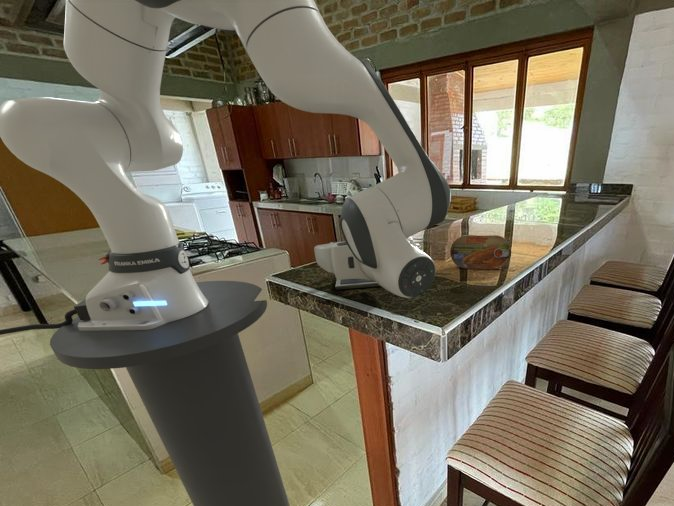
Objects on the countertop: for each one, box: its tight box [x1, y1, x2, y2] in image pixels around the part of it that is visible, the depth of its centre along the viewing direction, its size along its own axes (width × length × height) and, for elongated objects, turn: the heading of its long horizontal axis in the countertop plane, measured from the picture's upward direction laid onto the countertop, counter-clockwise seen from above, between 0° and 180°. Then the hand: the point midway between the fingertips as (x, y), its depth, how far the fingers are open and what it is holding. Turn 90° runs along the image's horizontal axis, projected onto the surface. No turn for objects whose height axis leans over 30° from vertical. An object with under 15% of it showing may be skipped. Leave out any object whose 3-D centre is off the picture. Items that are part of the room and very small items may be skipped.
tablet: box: [334, 279, 381, 291], centre depth 82 cm, size 18×14×1 cm
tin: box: [449, 234, 512, 270], centre depth 84 cm, size 15×3×8 cm, turn 76°
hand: (353, 242), depth 75 cm, fingers open, 8 cm apart
